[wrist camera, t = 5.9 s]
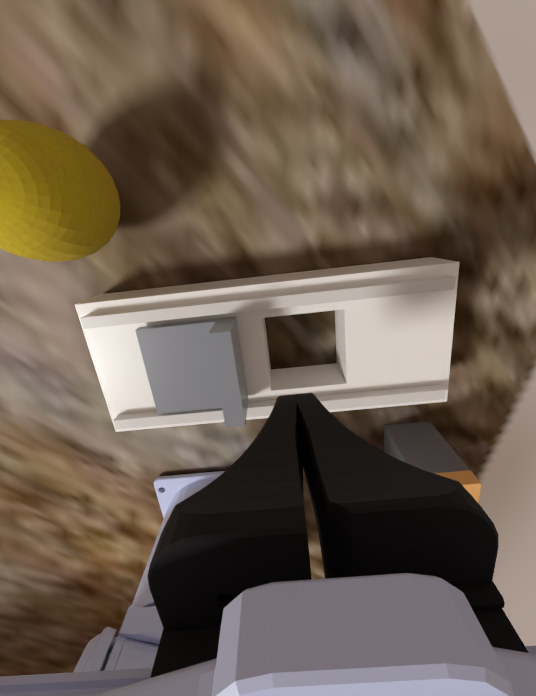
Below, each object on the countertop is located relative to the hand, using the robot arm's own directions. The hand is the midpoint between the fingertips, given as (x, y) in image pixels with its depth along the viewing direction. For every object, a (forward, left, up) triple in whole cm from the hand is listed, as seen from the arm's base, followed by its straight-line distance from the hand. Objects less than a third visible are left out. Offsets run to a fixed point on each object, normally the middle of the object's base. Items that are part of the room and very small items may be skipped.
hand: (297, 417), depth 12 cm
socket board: (0, +1, -9) cm, 9 cm away
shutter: (0, +5, -6) cm, 8 cm away
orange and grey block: (-9, -8, -9) cm, 15 cm away
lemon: (+9, +10, -10) cm, 17 cm away
